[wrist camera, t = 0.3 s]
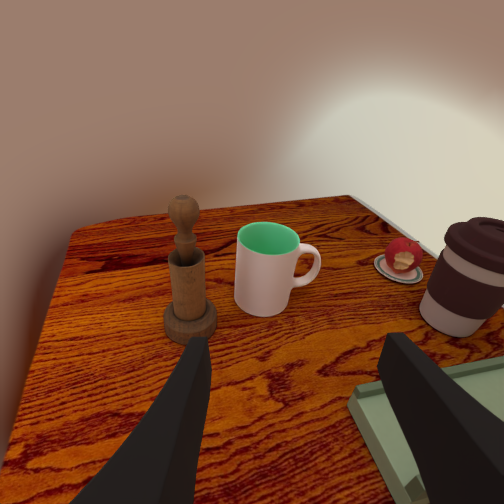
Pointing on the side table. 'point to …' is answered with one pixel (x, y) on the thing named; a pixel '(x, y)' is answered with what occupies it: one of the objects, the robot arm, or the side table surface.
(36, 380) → the side table surface
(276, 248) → the mug
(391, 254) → the apple
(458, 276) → the coffee cup
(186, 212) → the mortar and pestle
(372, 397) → the tray
